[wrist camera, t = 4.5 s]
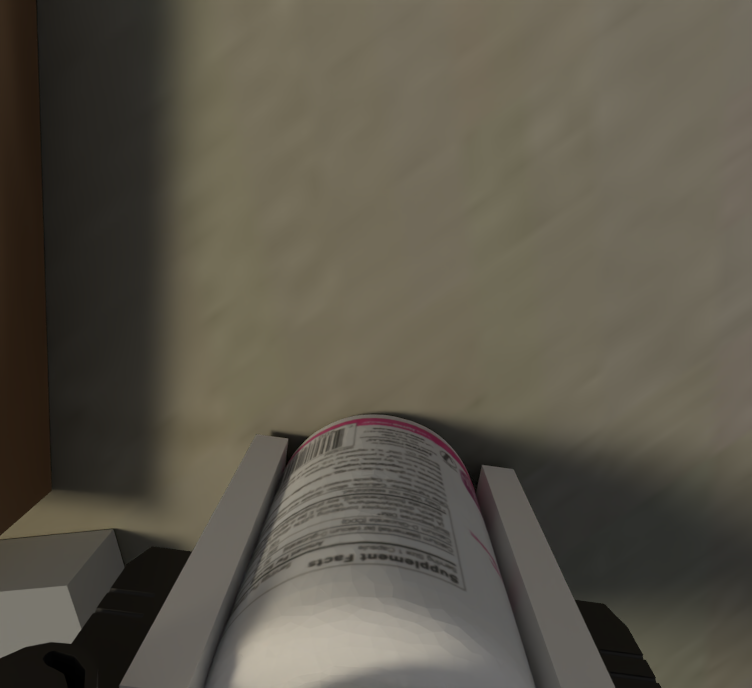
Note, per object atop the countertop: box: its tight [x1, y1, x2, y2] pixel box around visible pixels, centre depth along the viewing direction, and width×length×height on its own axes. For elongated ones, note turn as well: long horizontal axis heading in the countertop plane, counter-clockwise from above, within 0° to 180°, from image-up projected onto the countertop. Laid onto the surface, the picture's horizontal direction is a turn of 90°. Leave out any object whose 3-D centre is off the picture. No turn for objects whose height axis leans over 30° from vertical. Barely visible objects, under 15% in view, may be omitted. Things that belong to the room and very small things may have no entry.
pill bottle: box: [205, 414, 536, 688], centre depth 9 cm, size 5×5×8 cm
